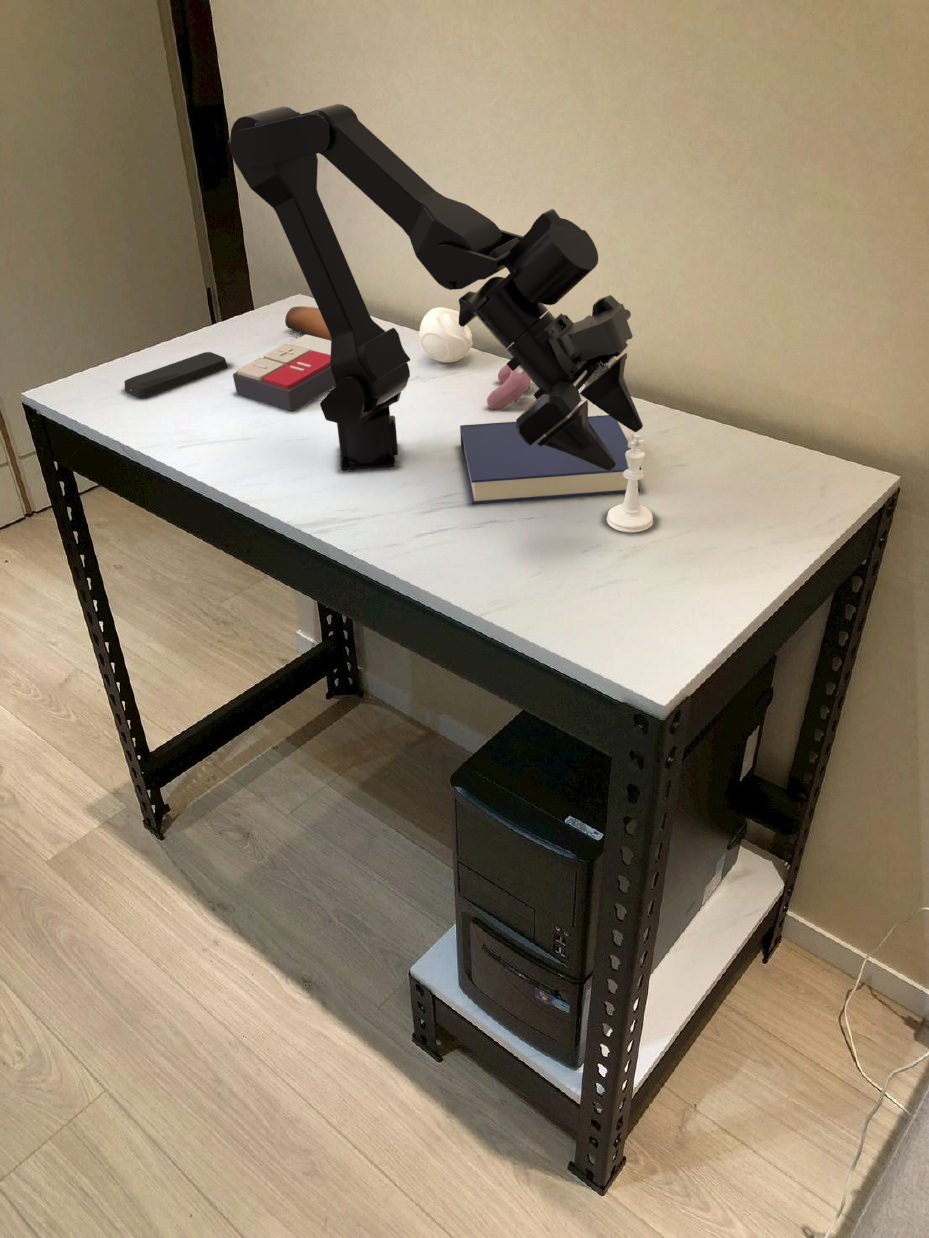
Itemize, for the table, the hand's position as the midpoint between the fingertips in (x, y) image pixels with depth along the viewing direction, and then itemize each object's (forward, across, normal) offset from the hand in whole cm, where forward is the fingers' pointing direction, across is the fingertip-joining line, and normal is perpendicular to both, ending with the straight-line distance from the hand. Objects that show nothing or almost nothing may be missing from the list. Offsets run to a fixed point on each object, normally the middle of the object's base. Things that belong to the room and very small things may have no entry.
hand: (626, 448), depth 101 cm
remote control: (-44, +14, +56) cm, 73 cm away
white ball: (-20, +34, +32) cm, 51 cm away
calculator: (-31, +19, +43) cm, 57 cm away
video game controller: (-10, +26, +22) cm, 35 cm away
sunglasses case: (-34, +35, +46) cm, 67 cm away
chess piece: (+7, 0, +6) cm, 9 cm away
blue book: (-2, +8, +14) cm, 16 cm away
